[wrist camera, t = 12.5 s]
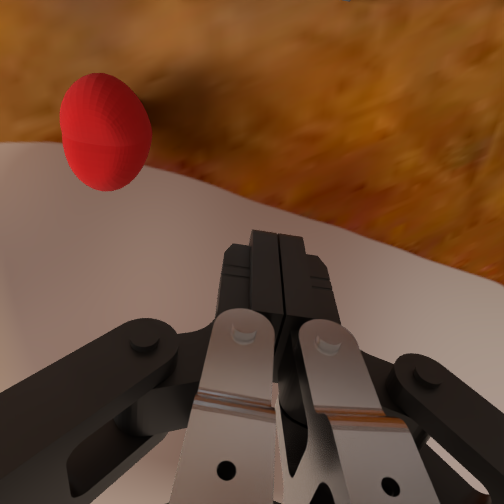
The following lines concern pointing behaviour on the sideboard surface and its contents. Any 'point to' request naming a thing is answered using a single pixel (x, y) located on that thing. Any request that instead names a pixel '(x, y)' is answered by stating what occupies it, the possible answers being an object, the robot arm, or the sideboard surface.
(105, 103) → the red heart
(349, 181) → the sideboard surface
